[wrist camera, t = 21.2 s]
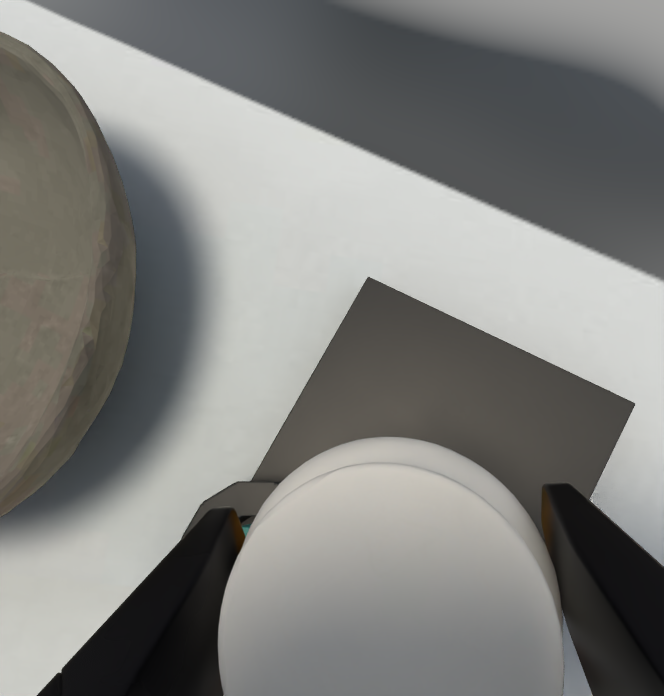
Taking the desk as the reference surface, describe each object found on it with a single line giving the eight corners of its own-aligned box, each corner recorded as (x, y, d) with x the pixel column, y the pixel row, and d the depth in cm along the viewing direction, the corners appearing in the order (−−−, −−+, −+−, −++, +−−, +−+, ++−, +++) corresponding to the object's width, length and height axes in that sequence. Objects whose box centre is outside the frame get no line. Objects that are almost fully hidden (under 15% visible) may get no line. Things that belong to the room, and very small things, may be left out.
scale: (448, 766, 19) (452, 817, 16) (186, 576, 22) (149, 590, 19) (622, 408, 21) (653, 396, 18) (356, 280, 24) (346, 253, 21)
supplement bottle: (415, 429, 16) (419, 321, 7) (541, 586, 15) (759, 713, 5) (272, 539, 16) (80, 577, 7) (383, 713, 14) (330, 1082, 5)
